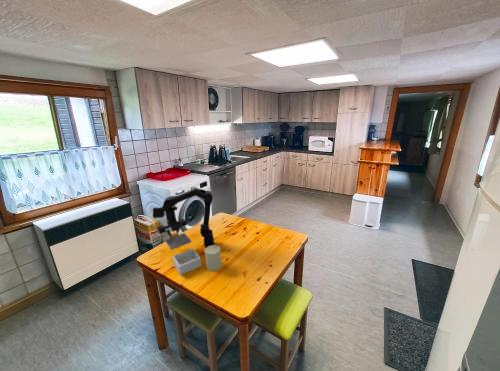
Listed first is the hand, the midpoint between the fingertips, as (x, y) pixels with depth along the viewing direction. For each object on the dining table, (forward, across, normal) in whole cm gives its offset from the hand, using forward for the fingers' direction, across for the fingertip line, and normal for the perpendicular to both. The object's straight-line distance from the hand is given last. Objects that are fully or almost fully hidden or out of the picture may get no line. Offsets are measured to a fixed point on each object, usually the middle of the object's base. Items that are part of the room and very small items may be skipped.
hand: (174, 237), depth 147 cm
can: (+10, +12, -32) cm, 36 cm away
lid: (-1, 0, -6) cm, 6 cm away
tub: (+10, 0, -22) cm, 24 cm away
